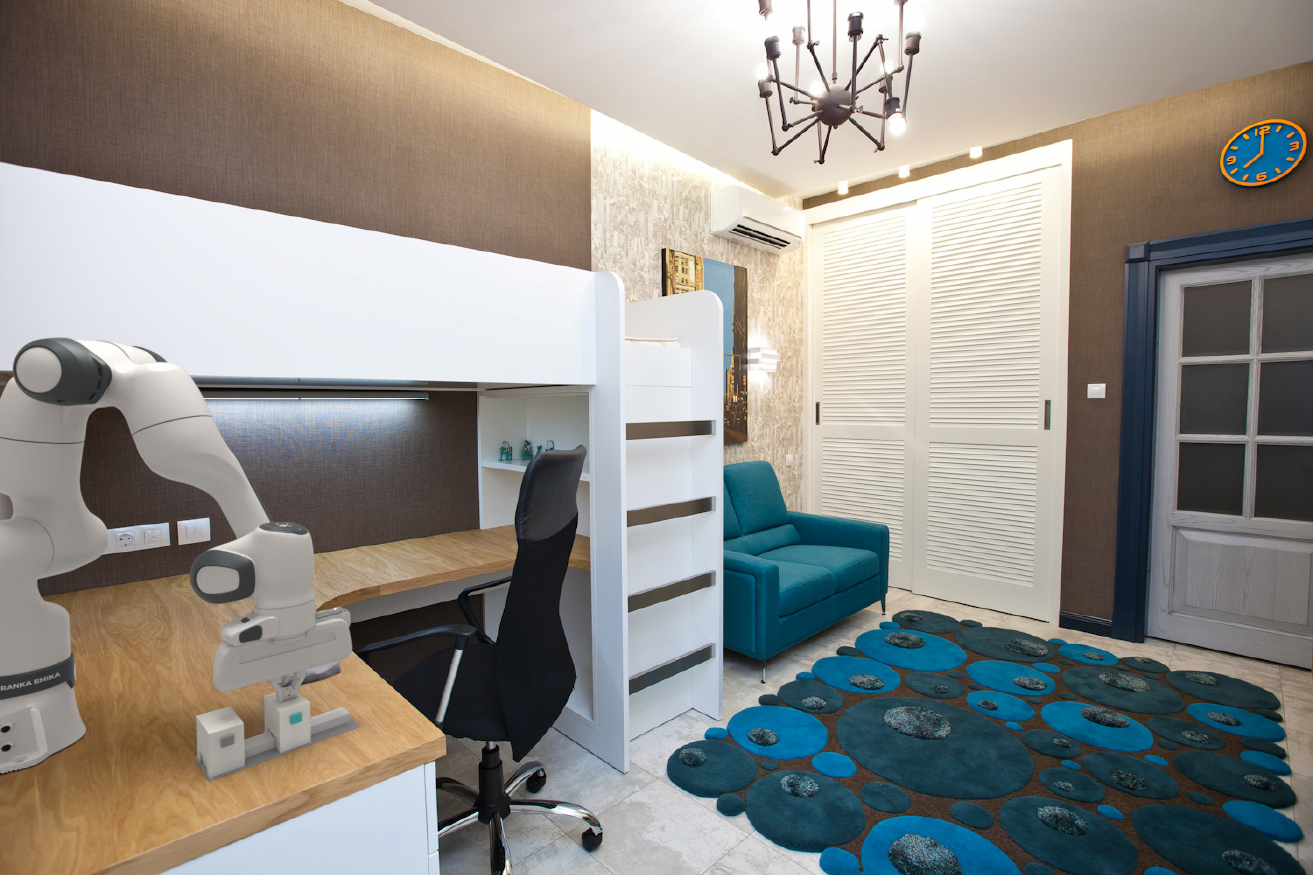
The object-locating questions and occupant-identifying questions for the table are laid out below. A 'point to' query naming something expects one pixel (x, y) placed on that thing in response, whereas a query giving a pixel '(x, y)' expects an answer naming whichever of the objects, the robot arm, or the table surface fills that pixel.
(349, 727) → the rail plate
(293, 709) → the block
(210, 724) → the white grey-marked block
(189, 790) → the table surface
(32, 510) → the robot arm
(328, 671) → the stone block
